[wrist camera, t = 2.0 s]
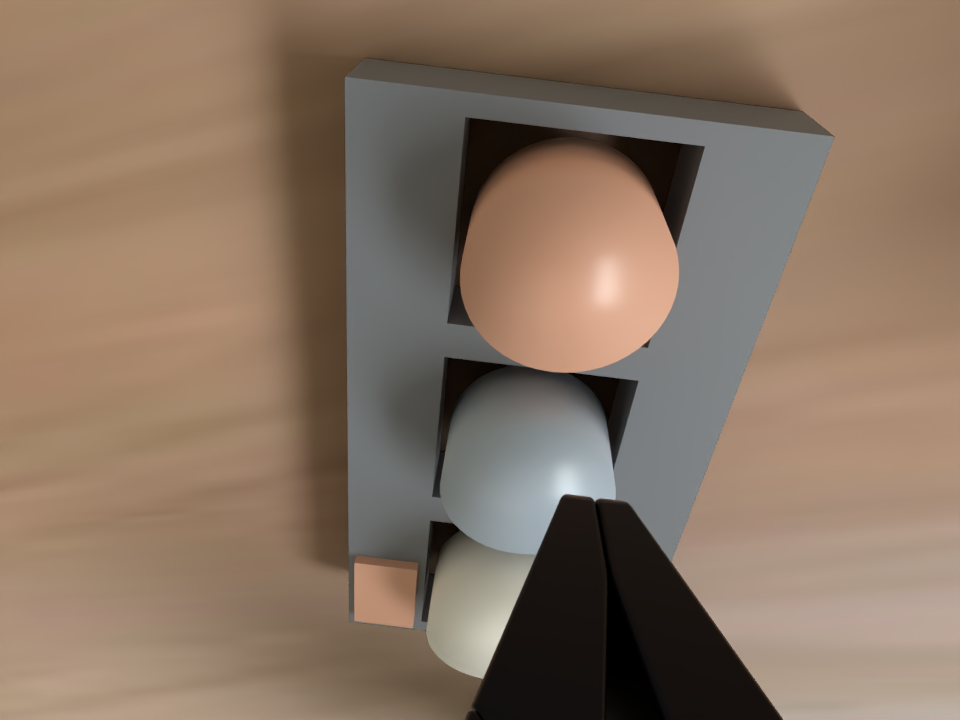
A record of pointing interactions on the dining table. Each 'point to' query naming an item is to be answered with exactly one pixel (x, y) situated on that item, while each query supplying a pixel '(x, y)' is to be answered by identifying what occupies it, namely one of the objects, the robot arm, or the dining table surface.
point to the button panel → (450, 334)
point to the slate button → (523, 455)
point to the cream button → (472, 601)
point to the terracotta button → (568, 257)
